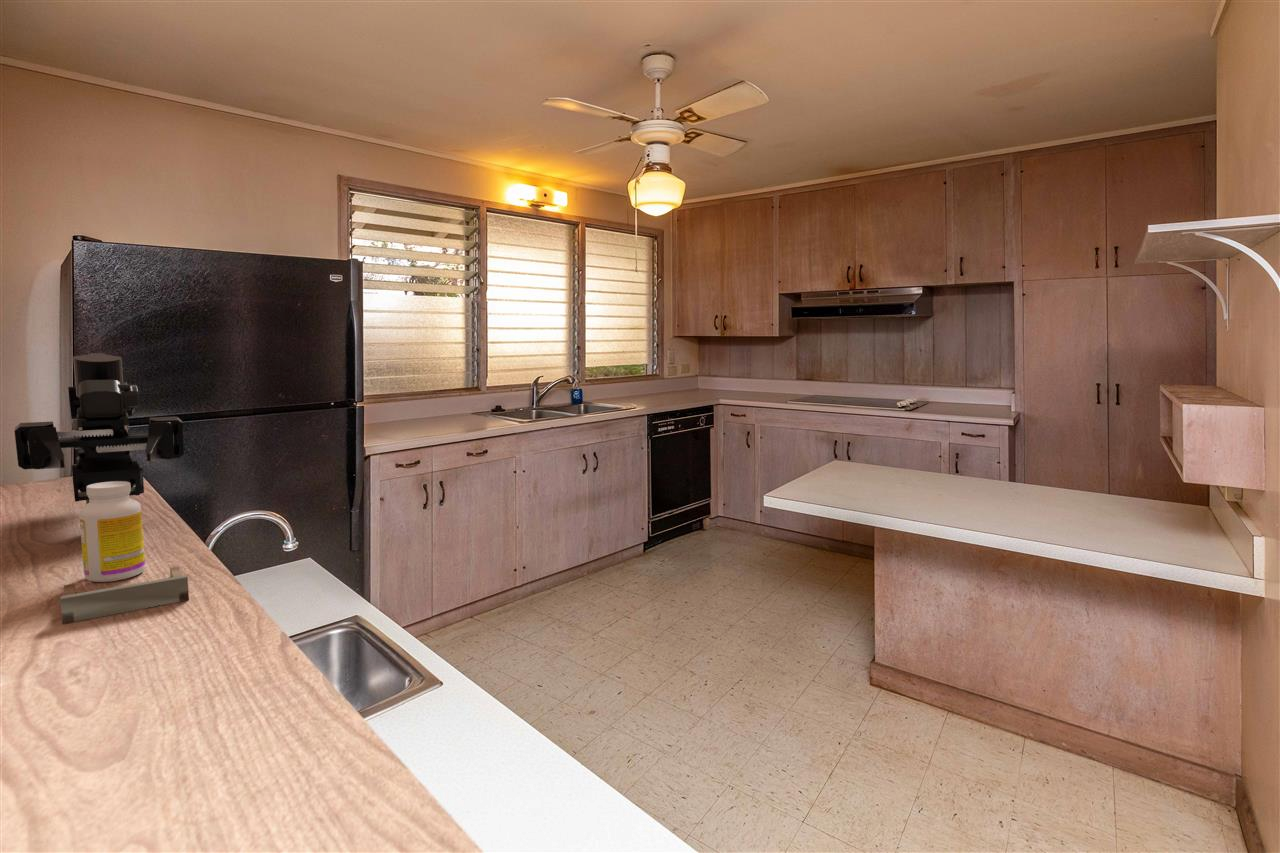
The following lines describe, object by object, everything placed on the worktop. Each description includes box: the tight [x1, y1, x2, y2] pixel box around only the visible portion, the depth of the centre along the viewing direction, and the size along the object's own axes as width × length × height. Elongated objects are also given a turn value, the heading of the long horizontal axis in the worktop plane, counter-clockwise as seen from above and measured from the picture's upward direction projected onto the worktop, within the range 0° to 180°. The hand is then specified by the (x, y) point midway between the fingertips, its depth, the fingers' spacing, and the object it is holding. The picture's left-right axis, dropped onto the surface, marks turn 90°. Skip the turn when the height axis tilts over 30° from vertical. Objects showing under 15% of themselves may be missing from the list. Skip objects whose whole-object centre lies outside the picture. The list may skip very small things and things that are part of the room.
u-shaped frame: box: [59, 566, 190, 625], centre depth 83 cm, size 11×12×3 cm
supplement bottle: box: [78, 481, 146, 583], centre depth 90 cm, size 7×7×13 cm
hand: (107, 460), depth 89 cm, fingers open, 9 cm apart
